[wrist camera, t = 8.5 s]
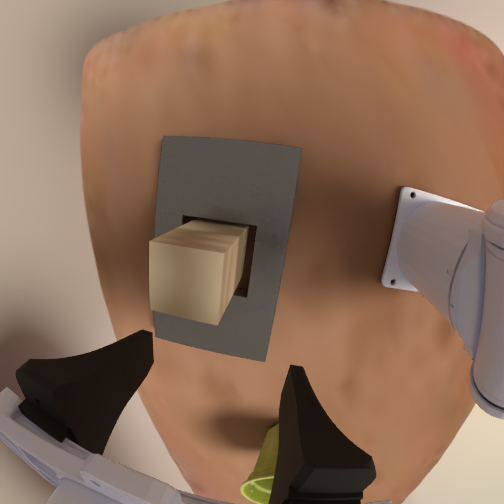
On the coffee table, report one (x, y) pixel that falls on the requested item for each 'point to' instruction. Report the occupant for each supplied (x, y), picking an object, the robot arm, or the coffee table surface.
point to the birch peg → (197, 269)
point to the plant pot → (263, 470)
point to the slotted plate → (232, 210)
